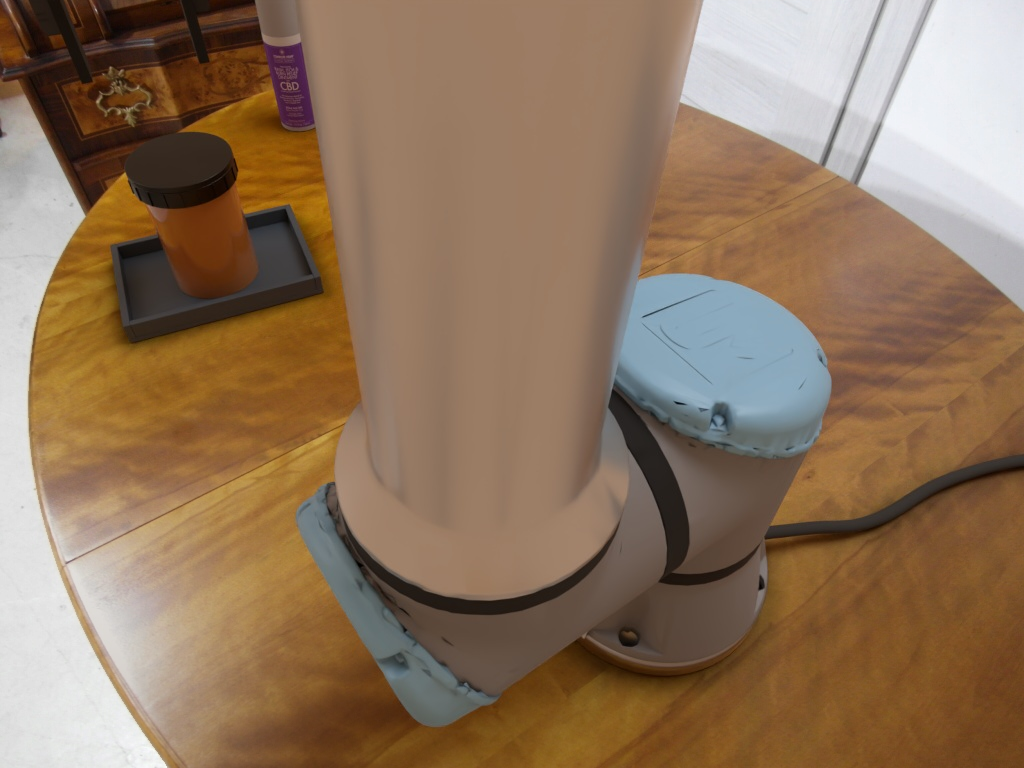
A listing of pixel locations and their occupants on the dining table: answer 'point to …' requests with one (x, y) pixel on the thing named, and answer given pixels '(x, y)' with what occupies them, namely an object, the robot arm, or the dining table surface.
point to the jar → (208, 246)
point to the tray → (166, 308)
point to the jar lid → (181, 170)
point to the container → (286, 63)
